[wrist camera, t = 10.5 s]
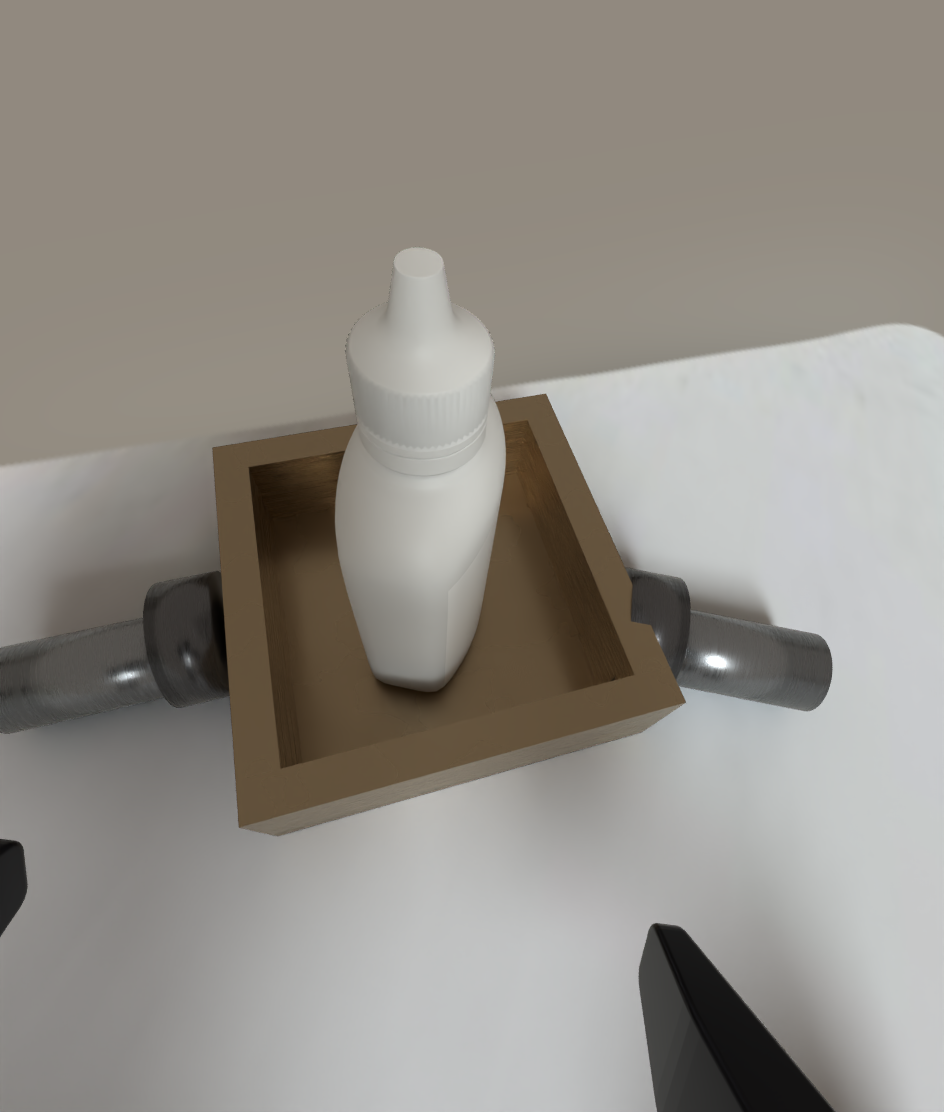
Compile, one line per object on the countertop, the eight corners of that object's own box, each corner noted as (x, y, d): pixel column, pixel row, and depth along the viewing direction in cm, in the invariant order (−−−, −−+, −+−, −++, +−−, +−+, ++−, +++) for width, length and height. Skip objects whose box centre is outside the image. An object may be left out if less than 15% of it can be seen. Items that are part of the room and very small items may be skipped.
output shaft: (595, 698, 18) (629, 662, 15) (603, 598, 20) (635, 546, 16) (791, 738, 18) (869, 709, 14) (781, 632, 19) (849, 586, 16)
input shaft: (243, 602, 19) (204, 548, 16) (252, 707, 17) (211, 670, 14) (38, 646, 18) (-48, 596, 14) (27, 762, 16) (-73, 736, 13)
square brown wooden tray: (530, 458, 22) (545, 393, 19) (642, 732, 17) (686, 702, 14) (245, 510, 20) (212, 447, 17) (277, 836, 15) (238, 827, 12)
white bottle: (532, 592, 19) (654, 245, 8) (417, 720, 17) (388, 462, 6) (435, 518, 20) (437, 134, 10) (316, 628, 18) (148, 281, 7)
